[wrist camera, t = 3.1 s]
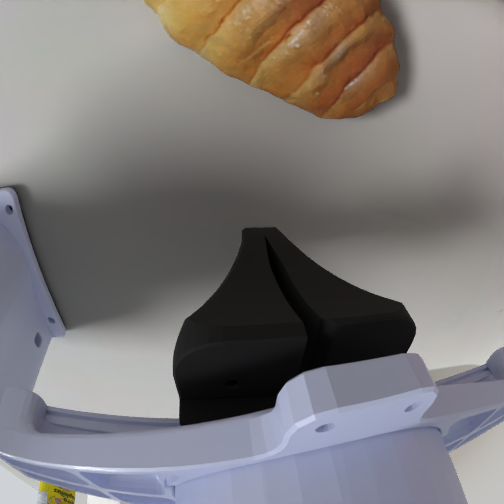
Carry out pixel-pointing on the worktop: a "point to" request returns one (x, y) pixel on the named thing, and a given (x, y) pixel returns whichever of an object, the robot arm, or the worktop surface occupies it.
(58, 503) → the supplement bottle
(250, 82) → the pastry
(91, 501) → the milk
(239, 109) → the worktop surface
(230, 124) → the worktop surface
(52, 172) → the worktop surface
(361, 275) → the worktop surface
